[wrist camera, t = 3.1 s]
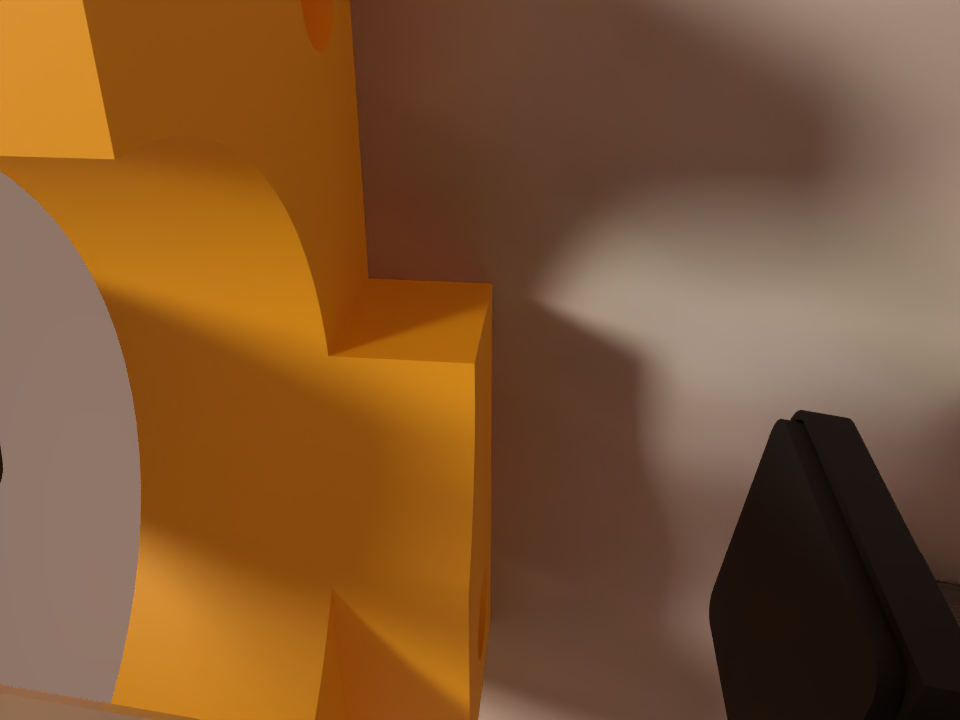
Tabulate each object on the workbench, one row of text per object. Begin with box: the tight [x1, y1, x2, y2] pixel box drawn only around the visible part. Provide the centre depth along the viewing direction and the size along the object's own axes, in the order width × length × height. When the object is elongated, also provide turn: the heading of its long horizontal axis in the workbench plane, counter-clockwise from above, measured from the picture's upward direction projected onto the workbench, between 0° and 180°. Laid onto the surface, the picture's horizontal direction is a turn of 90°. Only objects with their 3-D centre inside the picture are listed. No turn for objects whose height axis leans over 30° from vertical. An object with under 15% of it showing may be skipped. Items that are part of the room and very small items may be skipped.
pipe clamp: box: [0, 0, 492, 720], centre depth 10 cm, size 12×4×6 cm, turn 0°
